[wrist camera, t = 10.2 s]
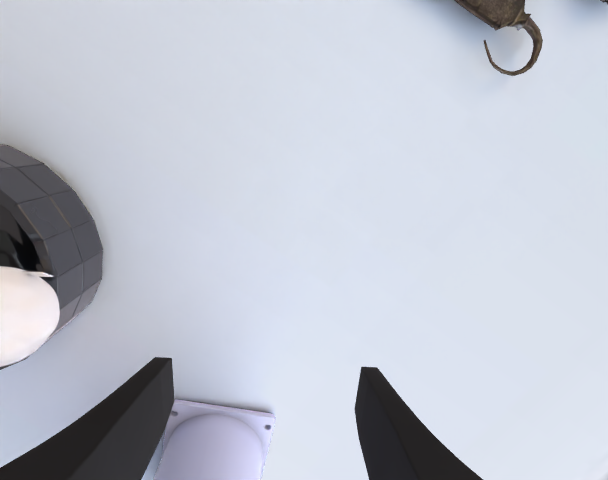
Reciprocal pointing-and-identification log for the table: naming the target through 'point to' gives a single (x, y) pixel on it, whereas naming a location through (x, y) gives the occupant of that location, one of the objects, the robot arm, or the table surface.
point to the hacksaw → (506, 23)
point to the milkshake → (23, 303)
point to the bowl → (51, 231)
